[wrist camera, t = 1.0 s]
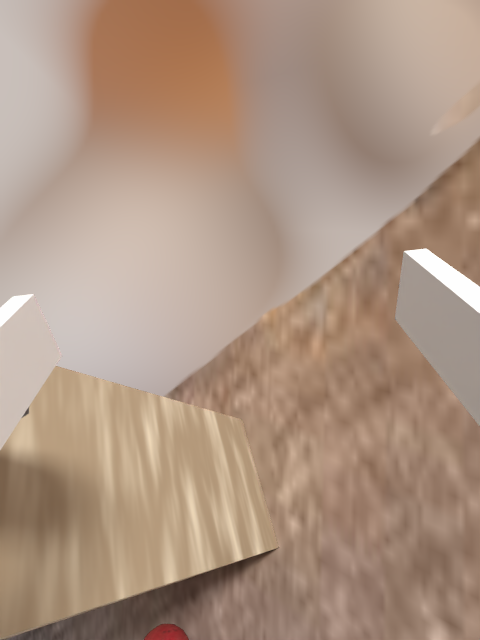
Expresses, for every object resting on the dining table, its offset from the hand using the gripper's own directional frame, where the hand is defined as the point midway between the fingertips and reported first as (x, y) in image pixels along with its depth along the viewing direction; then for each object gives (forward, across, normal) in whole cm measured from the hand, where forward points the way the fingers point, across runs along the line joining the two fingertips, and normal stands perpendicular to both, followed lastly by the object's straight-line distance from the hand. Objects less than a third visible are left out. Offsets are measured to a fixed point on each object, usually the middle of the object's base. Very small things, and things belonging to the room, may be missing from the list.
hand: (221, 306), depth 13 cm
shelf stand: (+18, +6, +39) cm, 43 cm away
